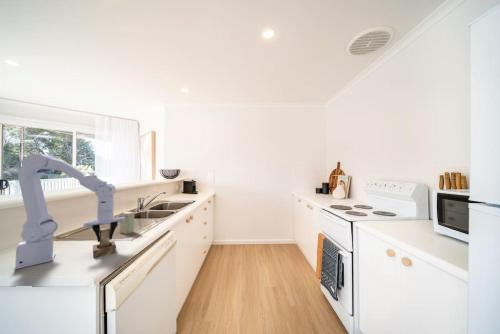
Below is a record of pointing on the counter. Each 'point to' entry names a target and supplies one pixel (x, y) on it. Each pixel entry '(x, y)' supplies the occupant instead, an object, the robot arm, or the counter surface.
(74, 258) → the counter surface
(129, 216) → the skincare box
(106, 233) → the beech peg
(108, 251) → the walnut holder
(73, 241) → the counter surface
